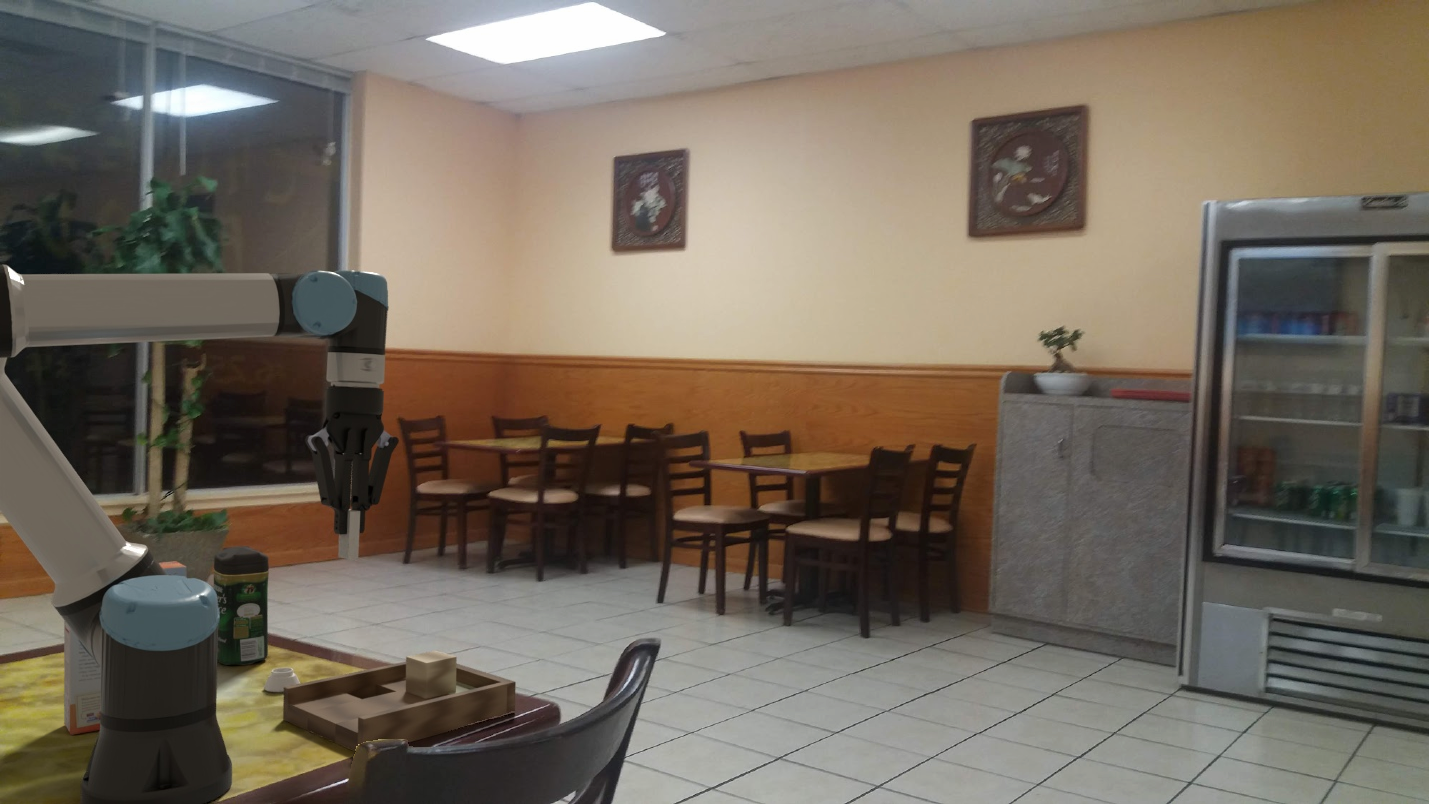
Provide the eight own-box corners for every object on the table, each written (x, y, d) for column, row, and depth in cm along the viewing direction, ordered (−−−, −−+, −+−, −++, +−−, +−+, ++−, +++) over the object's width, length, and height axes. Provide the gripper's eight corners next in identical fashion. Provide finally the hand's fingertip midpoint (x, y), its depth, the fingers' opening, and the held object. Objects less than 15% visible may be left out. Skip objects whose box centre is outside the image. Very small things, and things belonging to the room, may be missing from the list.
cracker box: (176, 706, 152) (178, 559, 152) (186, 717, 147) (189, 565, 147) (61, 724, 143) (63, 568, 143) (68, 736, 139) (70, 575, 138)
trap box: (362, 755, 134) (363, 719, 134) (283, 719, 147) (283, 687, 147) (514, 713, 153) (515, 681, 153) (432, 685, 166) (432, 656, 166)
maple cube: (426, 698, 150) (426, 663, 150) (405, 691, 153) (406, 656, 153) (455, 691, 154) (456, 656, 154) (435, 684, 157) (436, 650, 157)
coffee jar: (207, 656, 179) (208, 545, 179) (257, 650, 184) (259, 541, 184) (221, 669, 172) (222, 553, 171) (273, 662, 176) (274, 549, 176)
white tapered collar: (289, 695, 159) (305, 685, 164) (290, 675, 159) (306, 666, 164) (257, 693, 160) (274, 684, 165) (258, 673, 160) (274, 665, 165)
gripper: (324, 384, 140) (316, 565, 140) (412, 387, 149) (405, 557, 149) (296, 382, 145) (289, 558, 145) (383, 386, 154) (376, 550, 154)
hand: (348, 557), depth 147 cm, fingers closed
